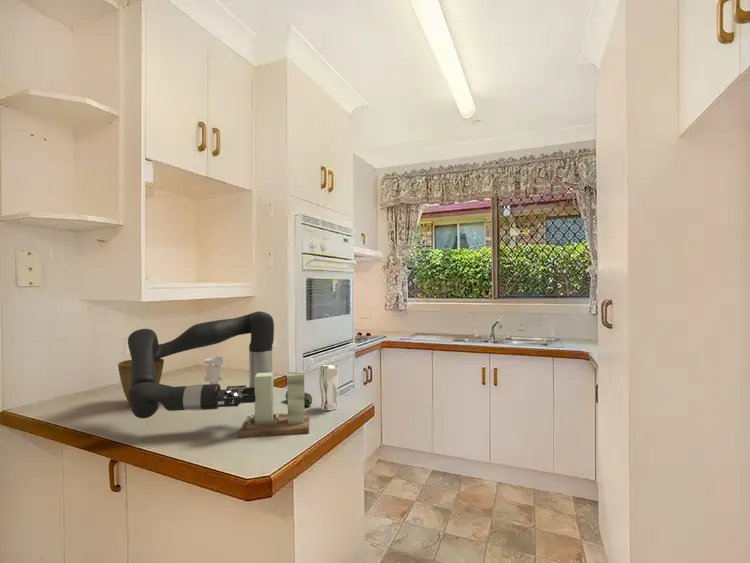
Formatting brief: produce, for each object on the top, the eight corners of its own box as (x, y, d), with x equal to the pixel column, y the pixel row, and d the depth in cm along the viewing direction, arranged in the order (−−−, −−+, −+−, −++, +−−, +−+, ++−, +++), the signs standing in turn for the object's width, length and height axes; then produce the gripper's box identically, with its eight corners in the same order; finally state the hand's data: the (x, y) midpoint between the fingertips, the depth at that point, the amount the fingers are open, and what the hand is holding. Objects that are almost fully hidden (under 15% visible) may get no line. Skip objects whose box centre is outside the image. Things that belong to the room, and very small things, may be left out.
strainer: (218, 395, 155) (218, 358, 155) (201, 395, 155) (201, 358, 155) (225, 390, 162) (225, 354, 162) (209, 390, 162) (209, 354, 162)
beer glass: (320, 412, 134) (320, 369, 134) (318, 406, 141) (318, 365, 141) (340, 410, 136) (340, 368, 136) (337, 404, 143) (336, 364, 143)
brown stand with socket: (247, 420, 126) (247, 370, 126) (309, 417, 129) (309, 368, 129) (239, 437, 112) (239, 381, 112) (308, 433, 116) (308, 378, 116)
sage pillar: (257, 419, 123) (257, 372, 123) (273, 419, 123) (273, 372, 124) (254, 425, 118) (254, 376, 118) (271, 424, 119) (271, 376, 119)
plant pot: (126, 413, 134) (125, 367, 134) (112, 404, 144) (112, 361, 144) (170, 402, 146) (170, 360, 146) (155, 395, 155) (155, 355, 155)
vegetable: (283, 401, 147) (283, 388, 147) (294, 398, 151) (294, 385, 151) (304, 409, 137) (304, 395, 137) (316, 406, 141) (315, 392, 141)
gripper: (195, 391, 110) (254, 388, 113) (208, 379, 124) (260, 376, 127) (195, 417, 110) (254, 414, 113) (208, 402, 124) (260, 399, 127)
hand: (257, 394), depth 120 cm, fingers open, 8 cm apart
